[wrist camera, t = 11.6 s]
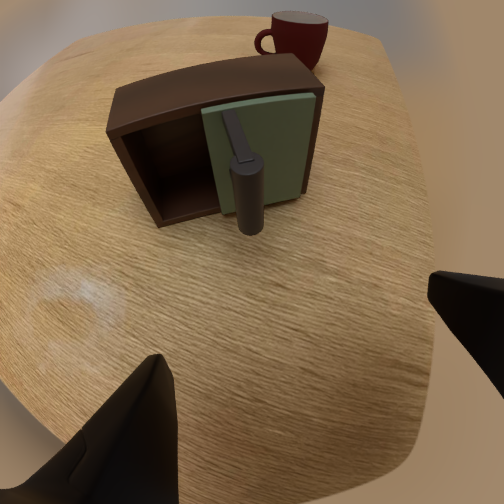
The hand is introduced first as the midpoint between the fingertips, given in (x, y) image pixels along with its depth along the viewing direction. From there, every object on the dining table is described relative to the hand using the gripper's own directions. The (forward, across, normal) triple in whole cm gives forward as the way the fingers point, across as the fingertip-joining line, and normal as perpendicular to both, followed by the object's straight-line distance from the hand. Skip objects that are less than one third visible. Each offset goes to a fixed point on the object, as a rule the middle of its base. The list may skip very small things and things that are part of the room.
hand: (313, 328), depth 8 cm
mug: (+36, -14, -18) cm, 42 cm away
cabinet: (+21, 0, -3) cm, 21 cm away
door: (+16, -2, +1) cm, 16 cm away
